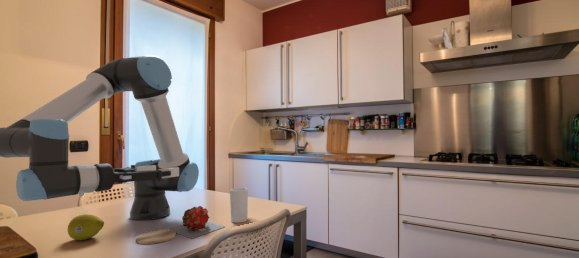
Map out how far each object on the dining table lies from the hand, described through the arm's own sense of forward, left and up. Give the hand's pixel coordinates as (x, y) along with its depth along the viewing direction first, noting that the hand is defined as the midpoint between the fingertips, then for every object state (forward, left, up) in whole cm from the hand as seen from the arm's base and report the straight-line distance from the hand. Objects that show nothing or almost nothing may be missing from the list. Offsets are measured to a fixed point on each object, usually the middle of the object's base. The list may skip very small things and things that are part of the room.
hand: (166, 170), depth 99 cm
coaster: (-3, -2, -22) cm, 22 cm away
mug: (+6, +28, -22) cm, 36 cm away
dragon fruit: (+1, +11, -22) cm, 25 cm away
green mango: (-21, -16, -22) cm, 35 cm away
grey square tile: (+1, +11, -22) cm, 25 cm away
